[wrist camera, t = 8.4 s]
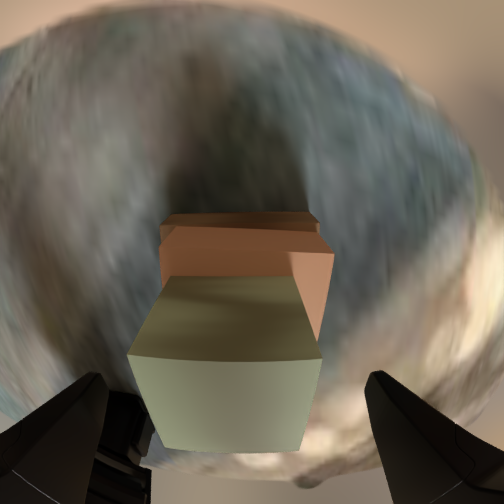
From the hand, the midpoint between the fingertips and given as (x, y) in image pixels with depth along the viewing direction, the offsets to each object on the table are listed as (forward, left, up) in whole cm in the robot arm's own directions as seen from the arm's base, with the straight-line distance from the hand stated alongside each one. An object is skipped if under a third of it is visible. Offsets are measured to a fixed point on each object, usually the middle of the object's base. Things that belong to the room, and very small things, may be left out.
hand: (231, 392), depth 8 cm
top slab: (0, 0, -7) cm, 7 cm away
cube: (0, -1, -4) cm, 4 cm away
